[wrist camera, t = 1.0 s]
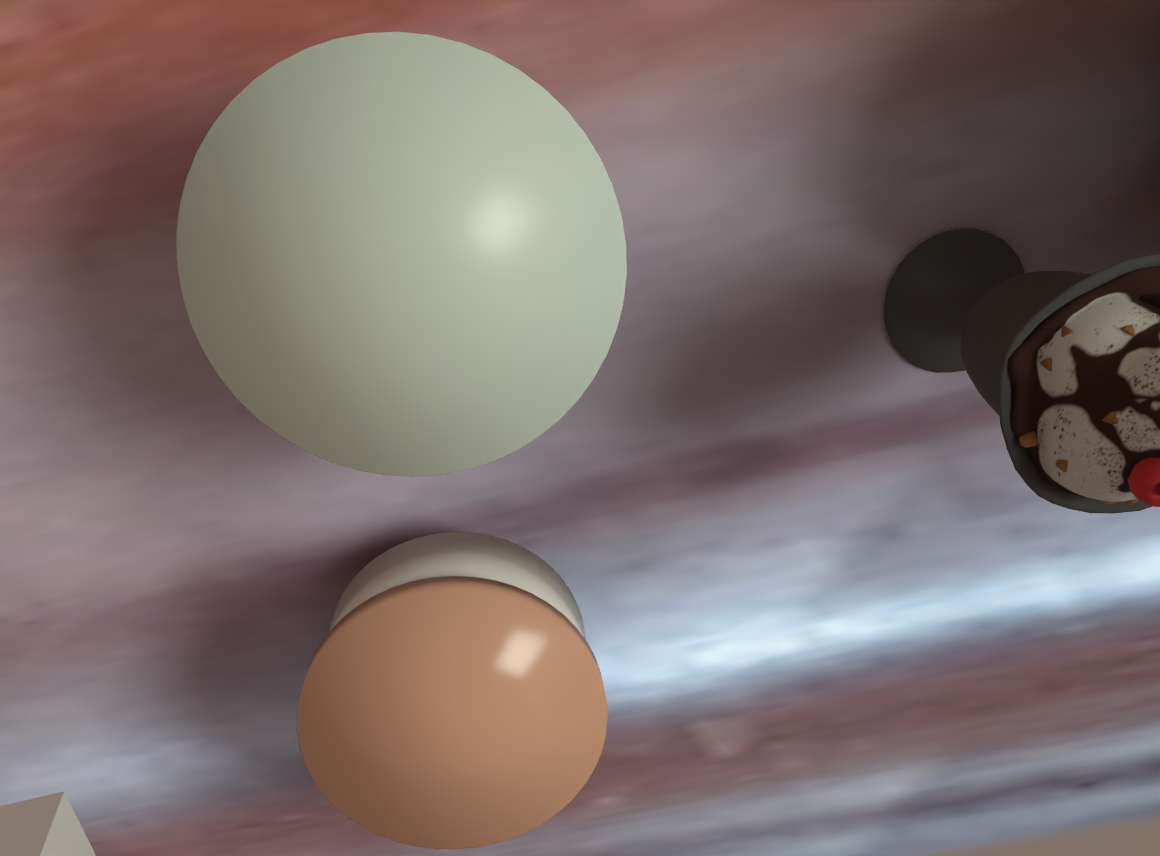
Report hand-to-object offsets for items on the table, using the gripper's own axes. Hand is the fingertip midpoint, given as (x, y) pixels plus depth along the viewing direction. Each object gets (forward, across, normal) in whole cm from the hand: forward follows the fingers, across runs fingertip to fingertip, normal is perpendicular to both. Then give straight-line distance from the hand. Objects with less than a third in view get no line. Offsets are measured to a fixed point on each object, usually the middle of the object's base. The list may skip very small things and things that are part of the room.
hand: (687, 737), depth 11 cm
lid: (+18, +2, -1) cm, 19 cm away
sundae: (+21, -15, +4) cm, 27 cm away
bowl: (+22, +4, +14) cm, 26 cm away
